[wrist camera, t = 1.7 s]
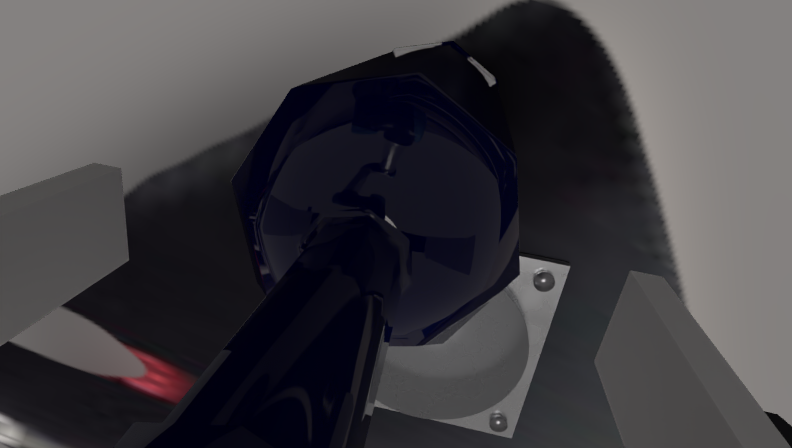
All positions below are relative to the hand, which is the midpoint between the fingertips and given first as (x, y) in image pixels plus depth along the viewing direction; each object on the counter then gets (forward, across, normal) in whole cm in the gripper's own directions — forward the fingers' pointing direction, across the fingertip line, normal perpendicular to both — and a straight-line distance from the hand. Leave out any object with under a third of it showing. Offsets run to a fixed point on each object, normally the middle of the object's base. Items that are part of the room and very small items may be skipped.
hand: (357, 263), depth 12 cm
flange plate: (+20, +3, -16) cm, 25 cm away
